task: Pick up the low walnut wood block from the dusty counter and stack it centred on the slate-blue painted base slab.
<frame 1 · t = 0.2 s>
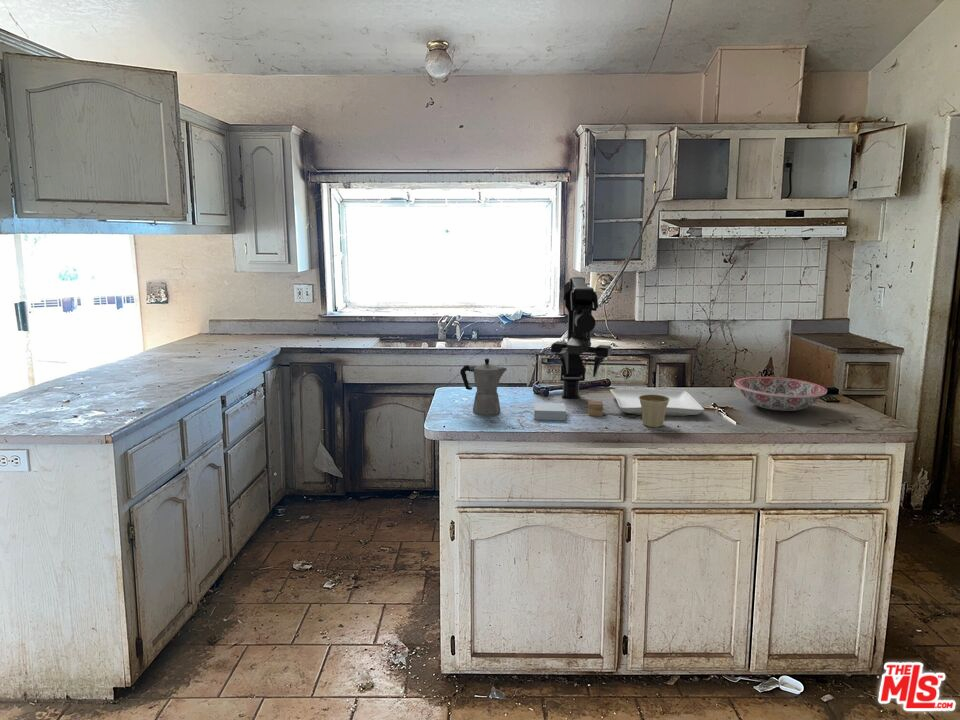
hand: (580, 375, 221), 14 cm above the worktop, fingers open, 9 cm apart
square plate: (654, 408, 236), on the worktop
ceramic bowl: (777, 409, 236), on the worktop
coffeepot: (483, 412, 229), on the worktop
base slab: (549, 415, 225), on the worktop
walnut block: (595, 414, 227), on the worktop
flower pot: (652, 425, 215), on the worktop
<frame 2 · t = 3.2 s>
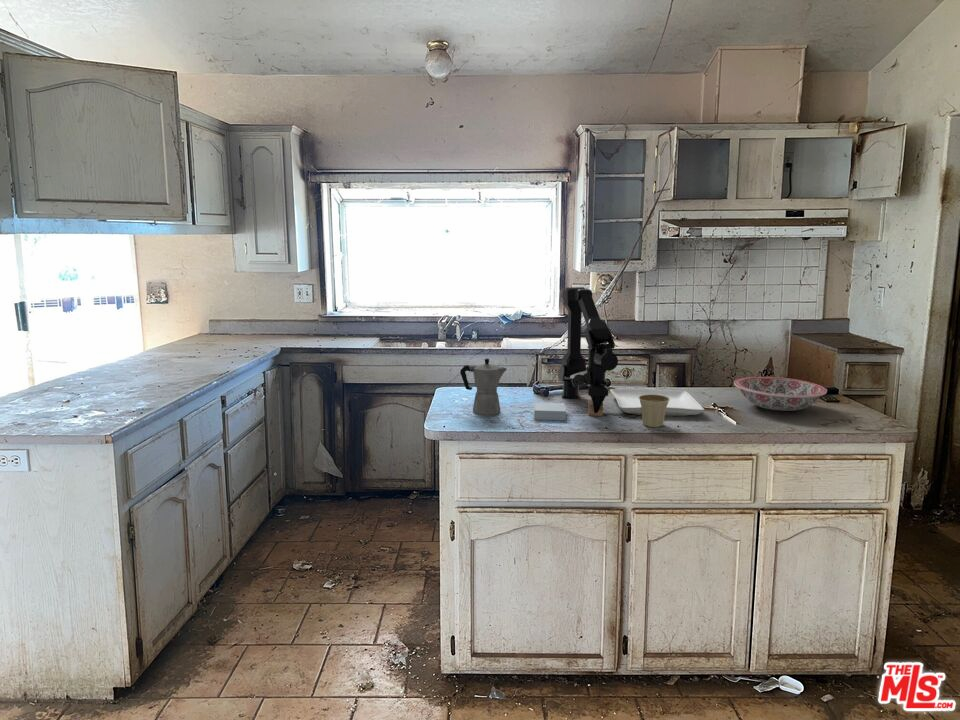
hand: (595, 410, 227), 1 cm above the worktop, fingers closed on walnut block, 4 cm apart
walnut block: (595, 413, 227), on the worktop, touching gripper
everything else where it was.
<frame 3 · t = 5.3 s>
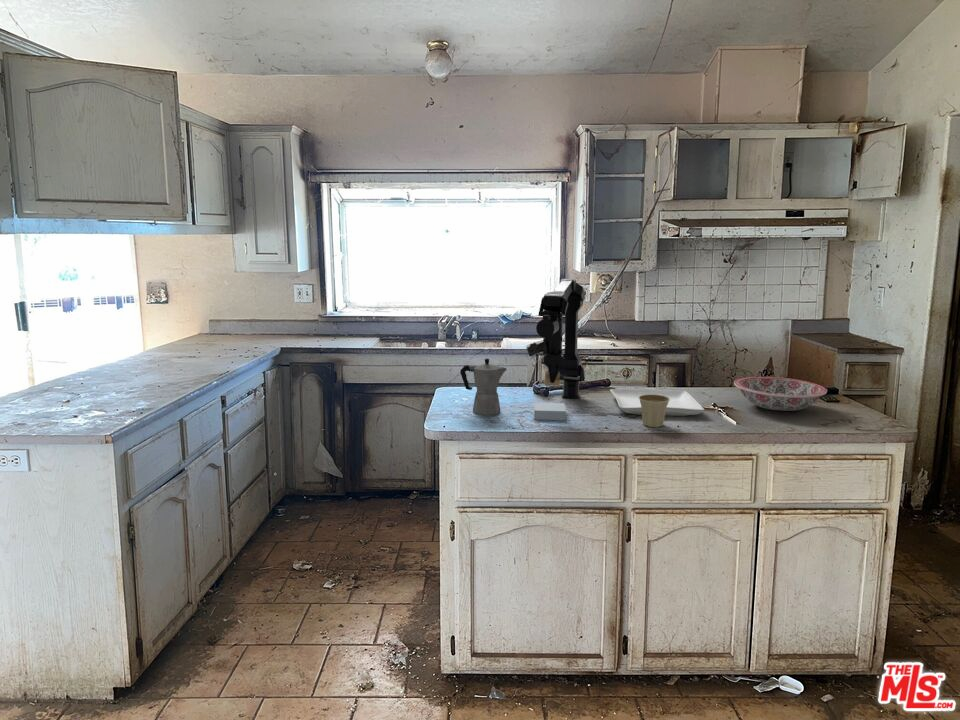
hand: (552, 381, 222), 12 cm above the worktop, fingers closed on walnut block, 4 cm apart
walnut block: (552, 384, 222), point 11 cm above the worktop, touching gripper
everything else where it was.
when the fingers open (5 cm above the worktop, at t = 7.3 s): walnut block stays where it is, resting on base slab.
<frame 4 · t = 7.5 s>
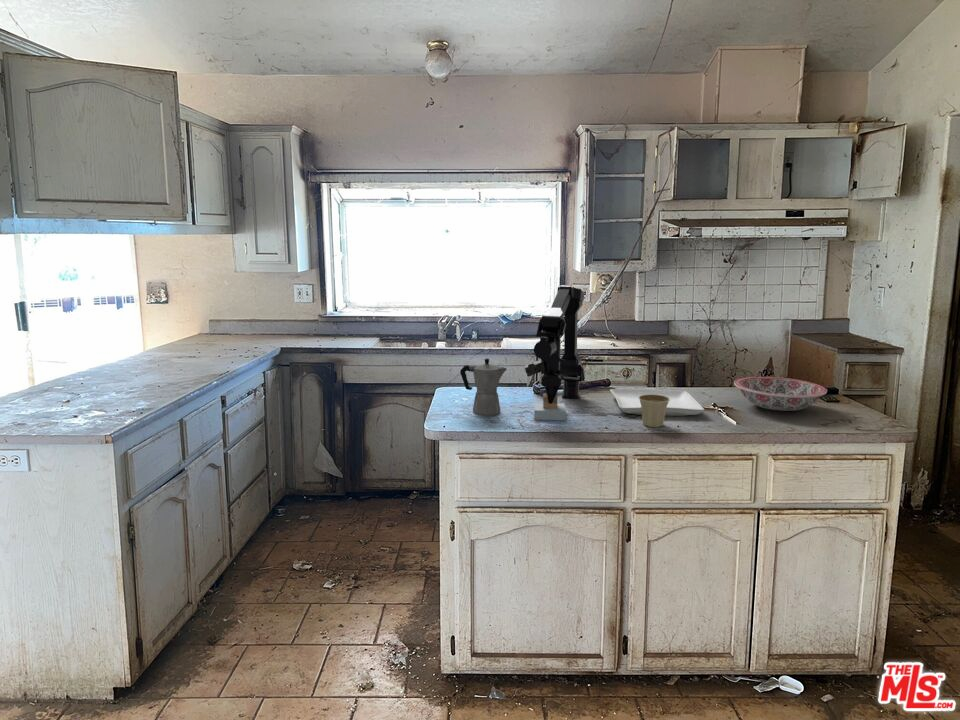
hand: (550, 400, 224), 5 cm above the worktop, fingers open, 7 cm apart
walnut block: (550, 406, 224), point 3 cm above the worktop, touching base slab
everything else where it was.
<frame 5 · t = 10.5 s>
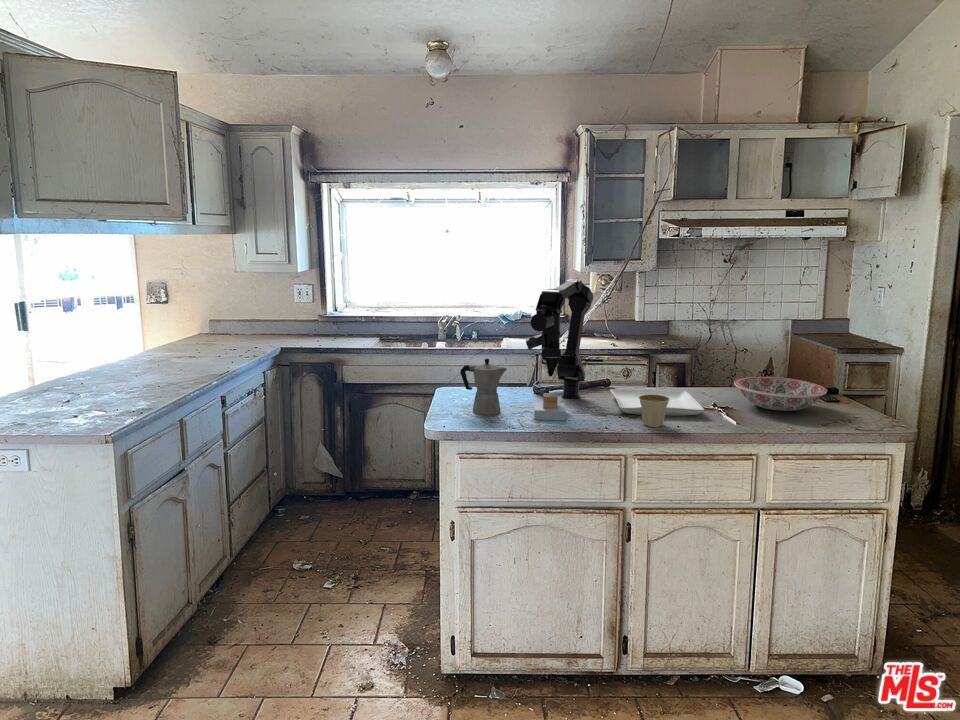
hand: (550, 373, 232), 12 cm above the worktop, fingers open, 9 cm apart
nothing on the worktop moved.
at the end: walnut block inside the target area on the base slab (0.1 cm from its centre), point 3.0 cm above the base slab's base; walnut block tilted 0°; the gripper is holding nothing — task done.
